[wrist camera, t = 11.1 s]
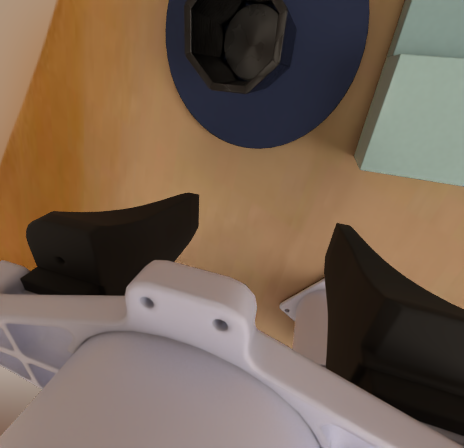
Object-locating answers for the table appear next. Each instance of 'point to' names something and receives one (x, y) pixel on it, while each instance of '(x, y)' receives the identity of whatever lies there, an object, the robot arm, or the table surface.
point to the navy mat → (287, 85)
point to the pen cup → (238, 42)
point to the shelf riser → (420, 98)
